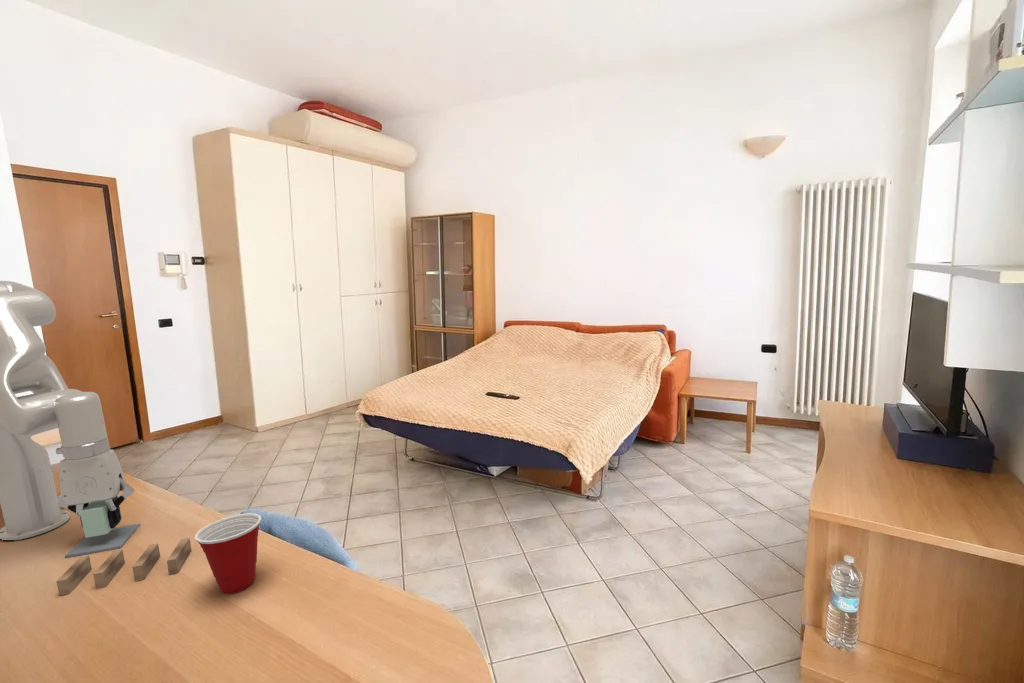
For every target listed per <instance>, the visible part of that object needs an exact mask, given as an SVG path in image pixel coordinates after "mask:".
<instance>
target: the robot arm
mask: <svg viewBox="0 0 1024 683" xmlns="http://www.w3.org/2000/svg"><path fill="white" fill-rule="evenodd" d="M56 310H57V309H56V306H55V304H54V302H53V301H52V299H51V298H50V297H49V296H48V295H47V294H45V292H42V291H41V290H40V289H39V290H38V289H37V288H34V287H30V286H27V285H25V284H22V283H19V282H17V281H16V282H15V281H10V280H0V510H1V513H2V517H3V518H2V519H3V520H4V526H3V527H1V528H0V539H2V540H1V541H3V540H14V541H19V540H23V539H29V538H32V537H36V536H39V535H42V534H45V533H47V532H48V533H49V531H52V530H54V529H57V528H58V527H61V526H62V525H64V524H65V523H66V522H68V521H69V519H70V518H71V513H70V511H71V512H72V513H74V514H75V515H76V516H77V517H79V518H80V523H81V527H82V529H83V525H82V520H81V516H80V511H82V510H83V509H84V508H85V507H86V506H87V505H89V504H90V503H91V502H98V501H104V500H105V501H106V503H107V506H108V508H109V511H108V512H107V515H108V519H109V524H110V528H116V526H117V525H119V524H120V522H121V521H122V519H121V515H122V512H121V513H120V510H121V507H120V508H119V505H120V506H121V505H122V503H123V502H124V501H125V500H126V499H127V498H129V497H130V496H131V495H132V494H134V492H135V491H136V490H135V489H134V487H133V486H131V485H130V484H129V483H128V482H126V480H125V476H124V472H123V469H122V466H121V463H120V461H119V458H118V456H117V454H116V452H115V450H114V449H111V447H110V442H109V437H108V433H107V426H106V422H105V418H104V413H103V408H102V402H101V398H100V395H99V394H98V393H96V392H94V391H82V390H80V389H76V388H69V387H68V385H67V383H66V382H65V380H64V378H63V376H62V375H61V373H60V370H59V369H58V367H57V366H56V364H55V362H54V361H53V360H52V359H51V358H50V357H49V356H48V355H46V352H47V346H46V345H45V343H44V341H43V340H42V339H41V337H40V335H39V333H38V332H37V330H36V328H35V327H43V326H46V325H50V324H51V323H54V320H55V319H56V317H57V311H56ZM27 392H32V393H31V394H27V395H21V396H16V395H17V394H21V393H27ZM55 429H58V433H59V438H60V443H61V445H60V447H57V448H56V449H55V454H56V455H62V457H63V459H61V460H60V462H59V488H60V489H59V490H60V494H59V495H58V493H57V489H56V484H55V480H54V475H53V471H52V465H51V461H50V456H49V453H48V450H47V449H46V448H45V446H43V445H42V444H40V443H38V442H36V441H34V440H33V439H32V438H31V437H33V436H36V435H39V434H41V433H45V432H48V431H52V430H55ZM120 492H122V493H121V494H120ZM119 494H120V495H119ZM61 507H62V508H63V509H61ZM66 509H68V510H69V511H68V510H66Z"/></svg>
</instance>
